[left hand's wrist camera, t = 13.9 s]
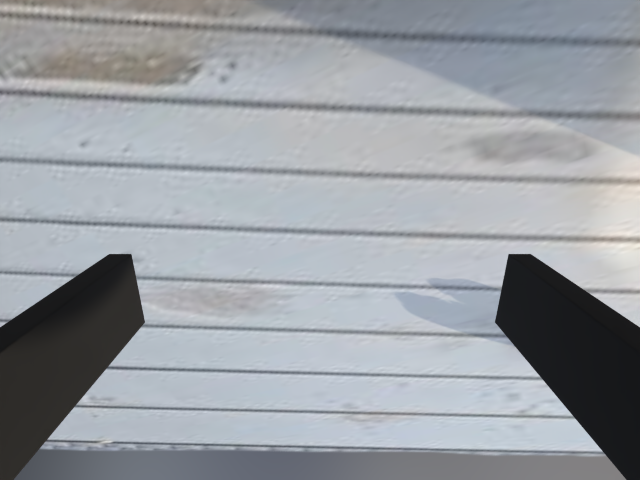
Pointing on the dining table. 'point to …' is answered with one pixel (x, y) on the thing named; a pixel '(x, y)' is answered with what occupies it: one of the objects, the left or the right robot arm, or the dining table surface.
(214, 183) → the dining table surface
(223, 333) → the dining table surface
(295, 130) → the dining table surface
